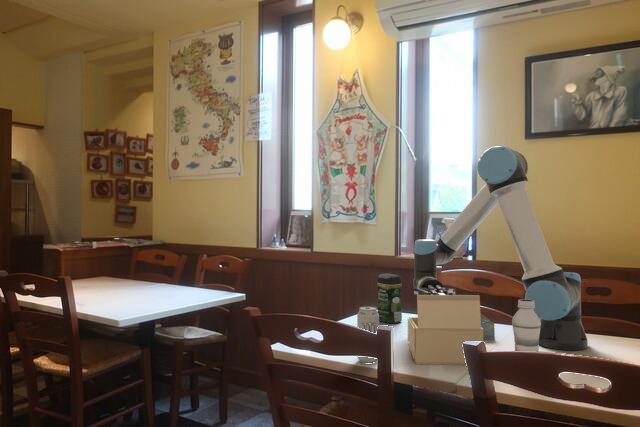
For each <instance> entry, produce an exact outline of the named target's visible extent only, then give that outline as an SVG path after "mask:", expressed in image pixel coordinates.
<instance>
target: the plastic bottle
mask: <svg viewBox="0 0 640 427" xmlns="http://www.w3.org/2000/svg"><path fill="white" fill-rule="evenodd" d="M517 308H518V310H517V311H516V312H515V314H514V315H513V317H512V319H511V324H512V331H513V338H514V352H515V351H536V352H539V353H540V351H539V349H540V348H539V346H540V345H539V335H540V327H541V322H540V318H539V317H538V316H537V314H536V313H535V312H534V309H535V301H534V300H530V299H525V298H520V299H518V300H517Z"/></svg>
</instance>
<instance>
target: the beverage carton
mask: <svg viewBox="0 0 640 427" xmlns="http://www.w3.org/2000/svg"><path fill="white" fill-rule="evenodd" d="M480 316H481V327H482V328H483V339H484V340H485V341H486V340H490V341H493V340H495V339H496V338H495V334H496V333H495V332H496V331H495V328H496V327H495V322H494V321H493V320H491V319H489V318H488V317H487V316H485V315H484V314H482V313H481V312H480ZM484 340H483V341H484Z"/></svg>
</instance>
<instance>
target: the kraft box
mask: <svg viewBox="0 0 640 427" xmlns="http://www.w3.org/2000/svg"><path fill="white" fill-rule="evenodd" d="M407 341H408V350H409V353H410V355H411V357H412V359H413V361H414V363H415V365H419V366H420V365H429V366H430V365H431V366H435V365H436V366H440V365H441V366H467V365H466V363H465V358H464V353H463V347H462V344H463V342H465V341H483V342H484V340H483V328H482V327H481V329H450V328H418V317H408V318H407Z"/></svg>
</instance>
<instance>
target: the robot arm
mask: <svg viewBox="0 0 640 427" xmlns="http://www.w3.org/2000/svg"><path fill="white" fill-rule="evenodd" d="M476 165H477V167H476V168H477V173H478V175H479V177H480V178H481V179H482V181H483V182H485V184H484V185H483V186H482V187H481V188H480V190H479V191H477V193H476V194H475V195H474V196H473V198H471V200H470V201H469V203H468V204H467V205H466V206H465V207H464V209H463V210H462V211H461V212H460V213H459V214H458V215H457V217H456V218H455V219H454V221H452V223H451V224H450V225H449V227H447V228H446V230H445V231H444V232H443V234H442V235H441V236H440V237H439V238H438V239H437V241H436V239H424V238H423V239H416V240H414V241H415V242H414V245H413V246H414V248H413V256H414V257H413V261H414V264H413V265H414V271H413V272H414V276H413V277H414V278H413V280H412V286H413V297H416V298H417V295H456V288H446V287H444V285H443V283H442V282H441V280H439V279H438V278H437V269H438V268H437V265H445V264H448V263H449V262H451V261H453V259H454V257H455V254H456V252H457V251H458V250H459V249H460V247H462V245H463V244H464V243H465V242H466V241H467V239H468V238H470V236H471V235H472V234H473V233H474V232H475V231H476V229H478V227H479V226H480V225H481V223H482V222H483V221H484V220H485V219H486V218H487V217H488V216H489V215H490V213H491V212H492V211H493V210H494V209H495V207H496V206H497V205H498V204H499V206H500V209H501V212H502V215H503V217H504V220H505V222H506V225H507V228H508V231H509V234H510V236H511V239H512V241H513V244H514V248H515V250H516V253H517V255H518V257H519V261H520V263H521V267H522V269H523V271H524V273H523V276H522V277H521V281H522V283H523V284H522V285H523V287H524V290H525V294H524V295H525V296H524V299H530V300H534V301H535V309H534V312H535V313H536V314H537V316H538V317H539V319H540V322H541V327H540V335H539V345H538V346H542V347H544V348H545V347H546V348H549V349H553V348H554V350H561V349H566V350H565V351H582V350H586V349H588V348H589V346H588V344H589V343H588V342H589V341H588V337H587V334H586V332H585V329H584V326H583V323H582V293H581V292H582V279H581V275H580V274H579V273H577V272H571V271H569V272H567V271H564V270H563V268H562V267H561V266H559V265H557V264H555V262H554V259H553V257H552V254H551V252H550V249H549V247H548V244H547V242H546V238H545V237H544V236H545V235H544V234H543V231H542V228H541V226H540V223H539V221H538V218H537V215H536V213H535V210H534V208H533V204H532V202H531V199H530V197H529V195H528V191H527V187H528V185H529V183H530V182H529V179H528V177H527V175H528V171H529V163H528V160H527V159H526V157H525V156H524V155H523V154H522V153H520V152H518V151H517V150H513V149H512V148H510V147H508V146H503V145H502V146H498V145H497V146H492V147H490V148H488V149H486V150H485V151H484V152H483V153H481V155H480V157H479V159H478V161H477V164H476ZM585 348H586V349H585Z"/></svg>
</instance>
